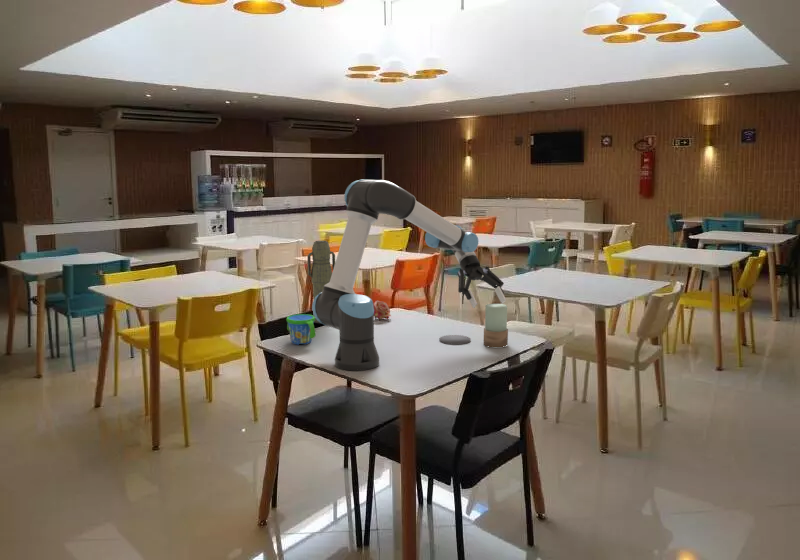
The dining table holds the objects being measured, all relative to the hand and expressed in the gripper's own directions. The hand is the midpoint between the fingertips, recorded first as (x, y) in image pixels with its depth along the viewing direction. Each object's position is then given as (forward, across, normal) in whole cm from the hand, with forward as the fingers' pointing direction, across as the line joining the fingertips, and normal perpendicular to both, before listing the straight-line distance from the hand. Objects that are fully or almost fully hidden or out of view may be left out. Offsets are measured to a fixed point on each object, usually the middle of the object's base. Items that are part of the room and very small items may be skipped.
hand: (489, 303), depth 249 cm
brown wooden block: (+14, +1, -6) cm, 16 cm away
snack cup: (-13, +64, -34) cm, 74 cm away
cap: (+10, +1, -2) cm, 10 cm away
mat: (+5, +11, -15) cm, 20 cm away
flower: (-26, +19, -48) cm, 58 cm away
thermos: (-34, +43, -55) cm, 77 cm away
